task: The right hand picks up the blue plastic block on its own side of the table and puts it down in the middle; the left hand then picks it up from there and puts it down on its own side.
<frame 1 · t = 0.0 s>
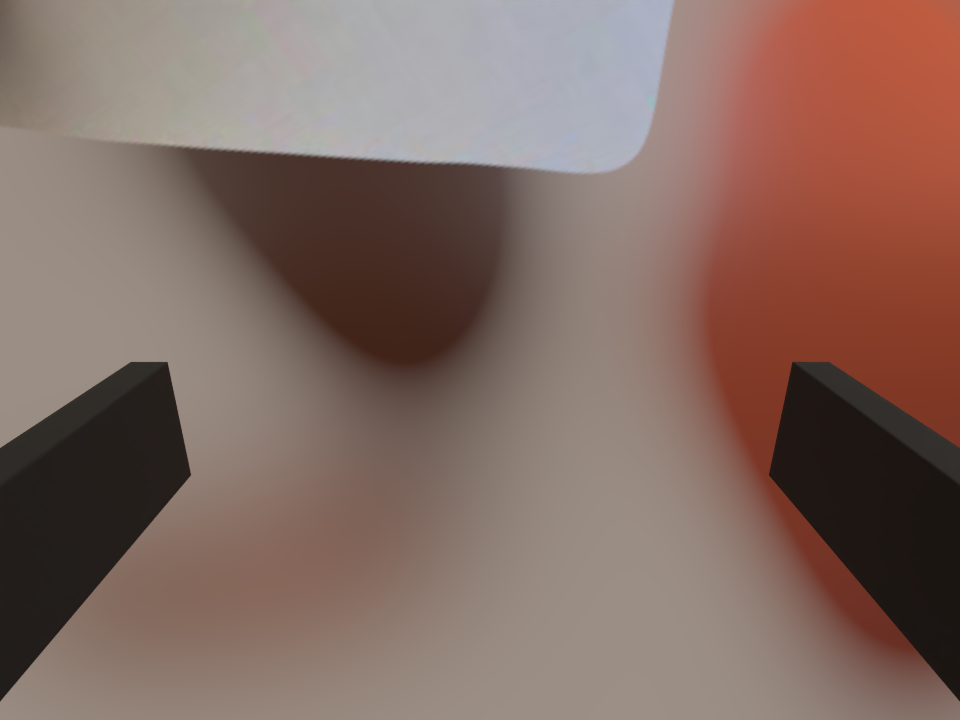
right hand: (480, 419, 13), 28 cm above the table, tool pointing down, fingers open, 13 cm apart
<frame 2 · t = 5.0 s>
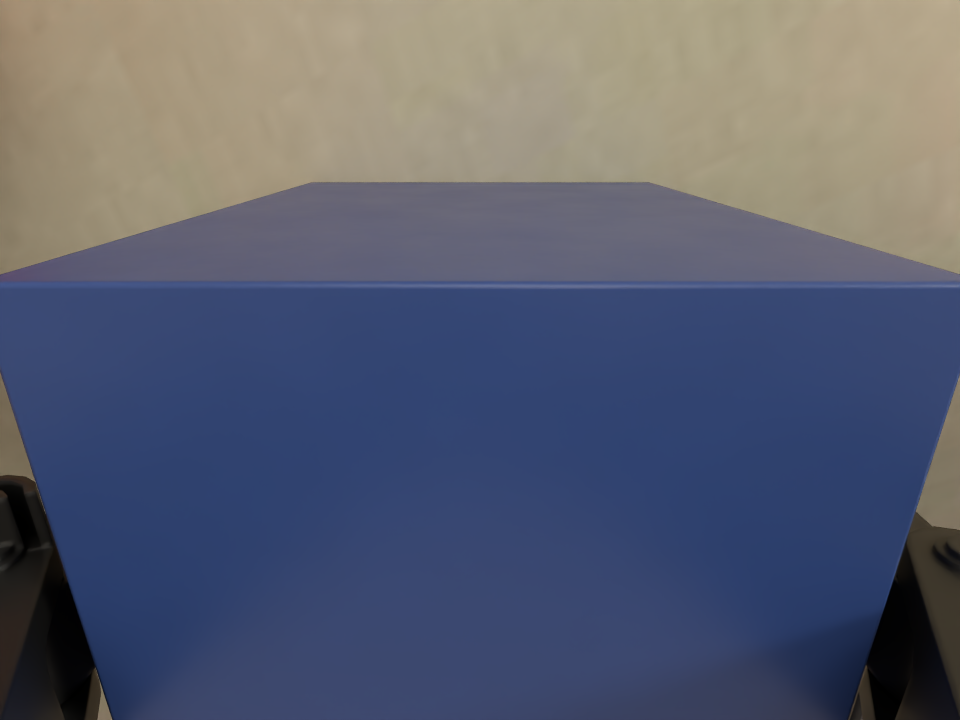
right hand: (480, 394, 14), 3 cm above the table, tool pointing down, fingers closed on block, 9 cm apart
block: (480, 352, 16), on the table, touching right hand
when the right hand's fingers open (4 cm above the table, at t = 15.4 s): block drops 1 cm, on the table.
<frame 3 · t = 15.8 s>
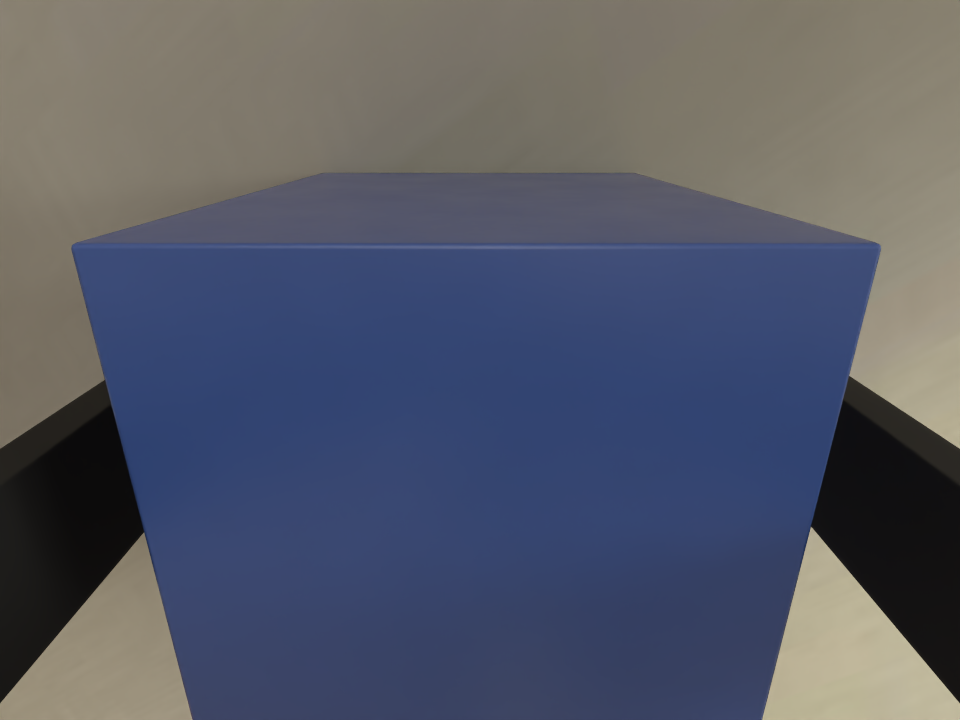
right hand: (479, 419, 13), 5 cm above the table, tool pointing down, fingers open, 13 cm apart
block: (478, 331, 18), on the table
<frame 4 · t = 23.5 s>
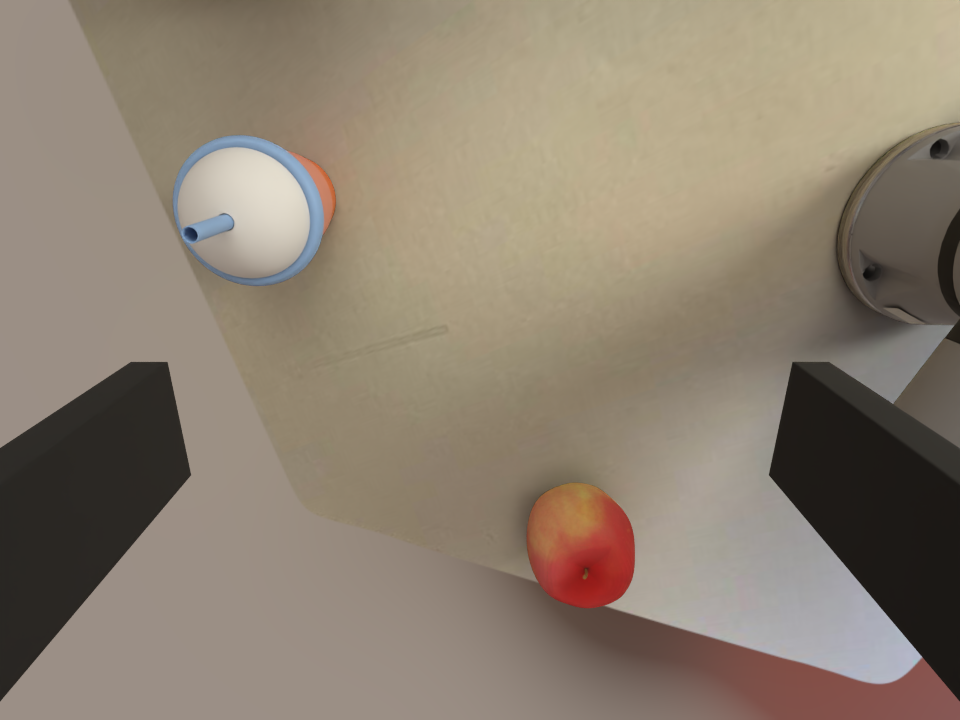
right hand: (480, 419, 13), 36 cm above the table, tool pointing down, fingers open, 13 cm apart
apple: (569, 504, 56), on the table
cup with straw: (297, 196, 46), on the table
when the left hand's fingers open (4 cm above the table, at t = 32.2 s): block drops 1 cm, on the table.
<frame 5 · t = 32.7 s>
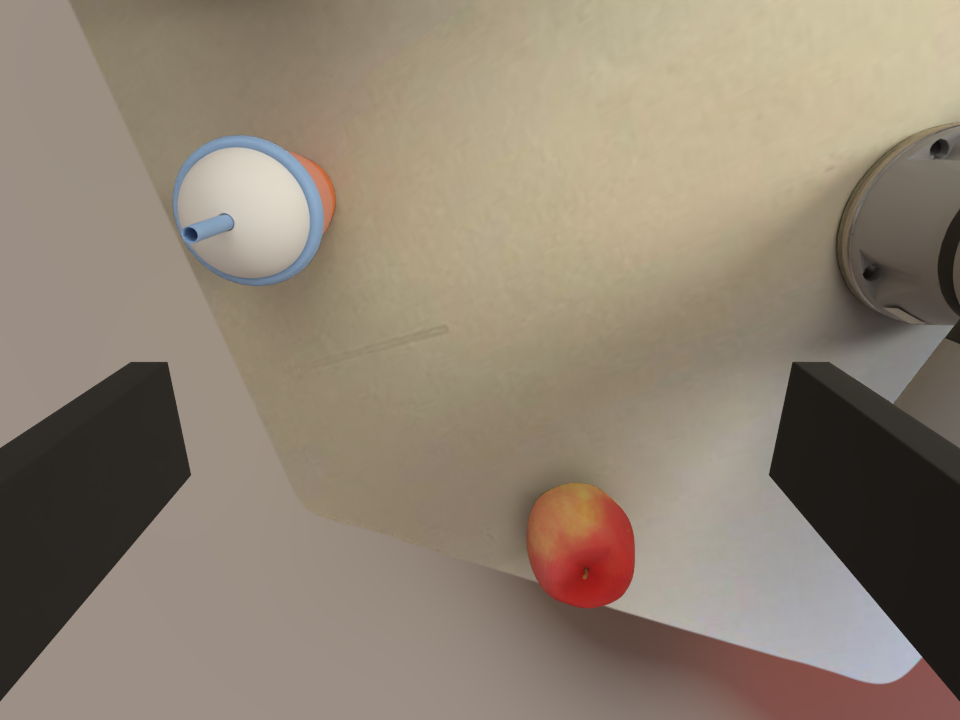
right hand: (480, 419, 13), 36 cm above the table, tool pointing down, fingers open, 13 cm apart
apple: (569, 504, 56), on the table
cup with straw: (297, 196, 46), on the table
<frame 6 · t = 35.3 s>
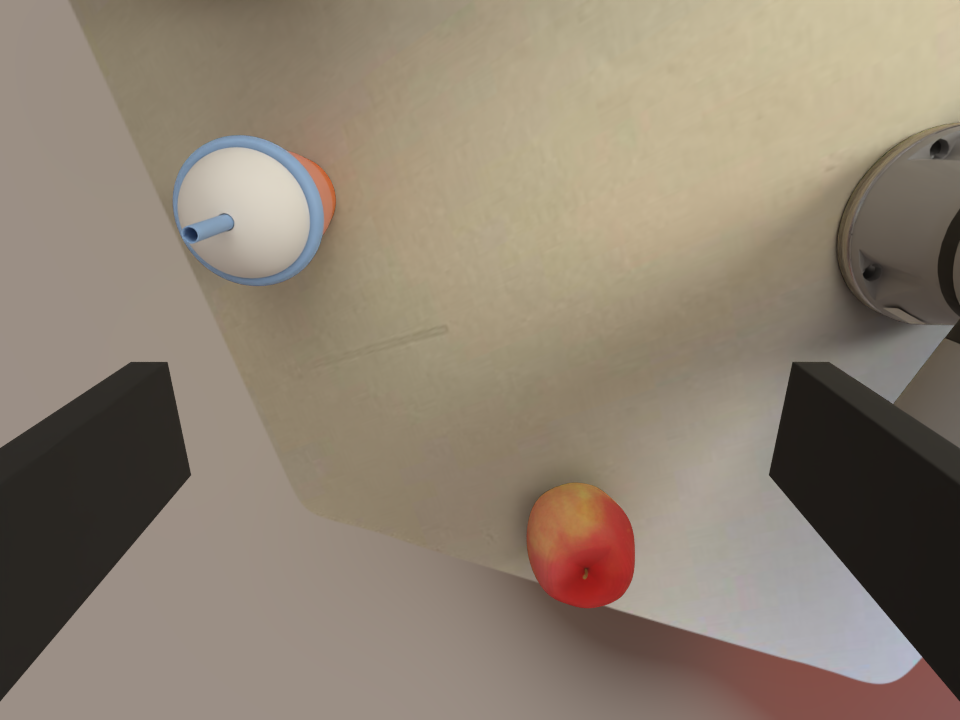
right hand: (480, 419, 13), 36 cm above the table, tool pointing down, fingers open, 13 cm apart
apple: (569, 504, 56), on the table
cup with straw: (297, 196, 46), on the table
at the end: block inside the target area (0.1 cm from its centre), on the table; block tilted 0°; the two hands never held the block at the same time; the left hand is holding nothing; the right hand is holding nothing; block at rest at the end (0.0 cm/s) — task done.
